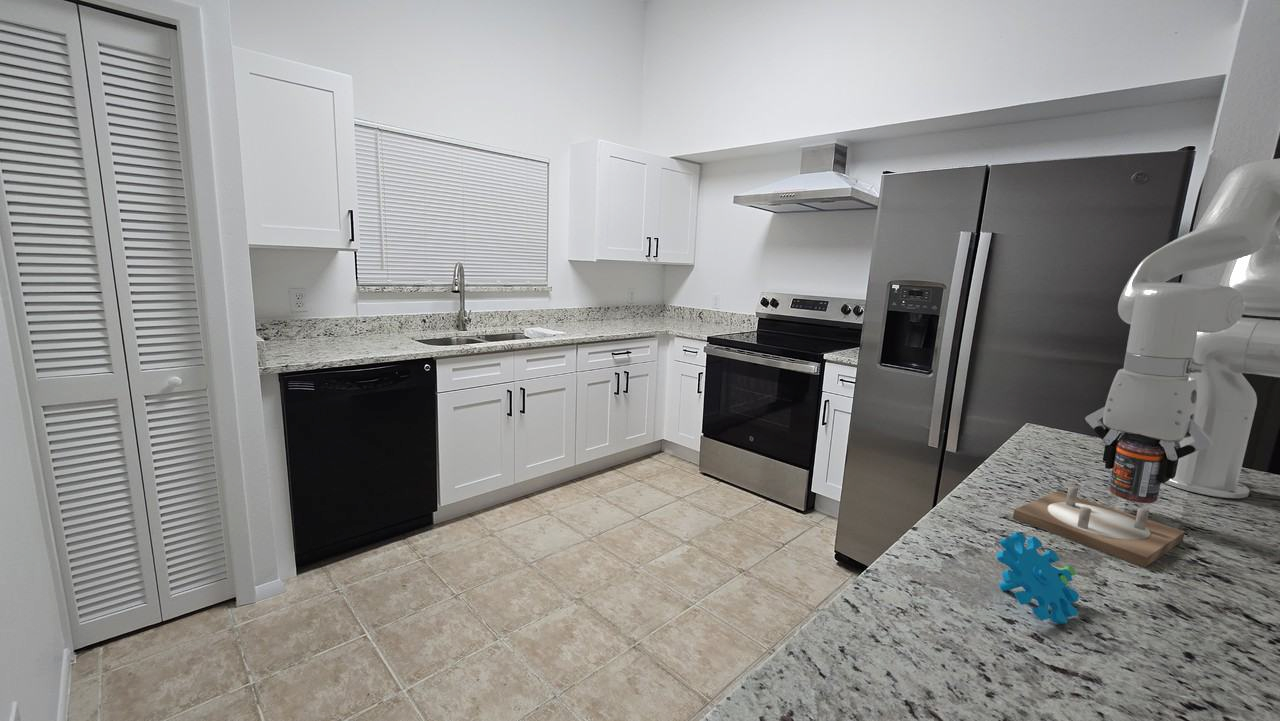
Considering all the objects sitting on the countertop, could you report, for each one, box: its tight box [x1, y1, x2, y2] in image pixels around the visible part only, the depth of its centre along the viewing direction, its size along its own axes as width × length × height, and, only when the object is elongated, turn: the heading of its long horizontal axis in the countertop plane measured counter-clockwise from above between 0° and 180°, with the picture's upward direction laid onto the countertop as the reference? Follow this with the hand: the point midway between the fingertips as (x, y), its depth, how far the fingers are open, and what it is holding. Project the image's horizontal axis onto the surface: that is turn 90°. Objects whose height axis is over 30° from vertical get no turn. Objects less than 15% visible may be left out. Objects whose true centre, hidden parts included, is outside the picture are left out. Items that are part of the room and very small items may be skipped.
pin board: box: [1012, 486, 1186, 569], centre depth 82 cm, size 15×16×4 cm
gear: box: [996, 531, 1080, 625], centre depth 64 cm, size 11×6×10 cm
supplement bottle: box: [1109, 433, 1166, 504], centre depth 87 cm, size 6×6×11 cm
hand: (1136, 472), depth 87 cm, fingers closed on supplement bottle, 6 cm apart
